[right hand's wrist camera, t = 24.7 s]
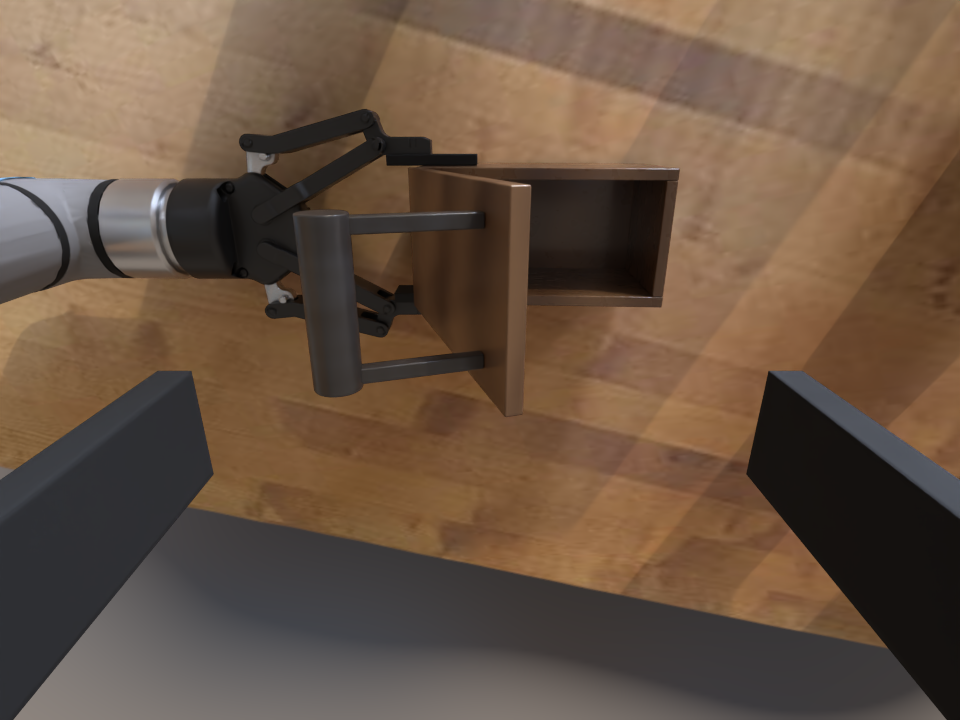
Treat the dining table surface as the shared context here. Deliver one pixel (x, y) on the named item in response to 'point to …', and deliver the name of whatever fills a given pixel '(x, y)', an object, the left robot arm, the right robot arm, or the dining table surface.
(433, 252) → the lid
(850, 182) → the dining table surface
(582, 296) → the chest
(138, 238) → the left robot arm
